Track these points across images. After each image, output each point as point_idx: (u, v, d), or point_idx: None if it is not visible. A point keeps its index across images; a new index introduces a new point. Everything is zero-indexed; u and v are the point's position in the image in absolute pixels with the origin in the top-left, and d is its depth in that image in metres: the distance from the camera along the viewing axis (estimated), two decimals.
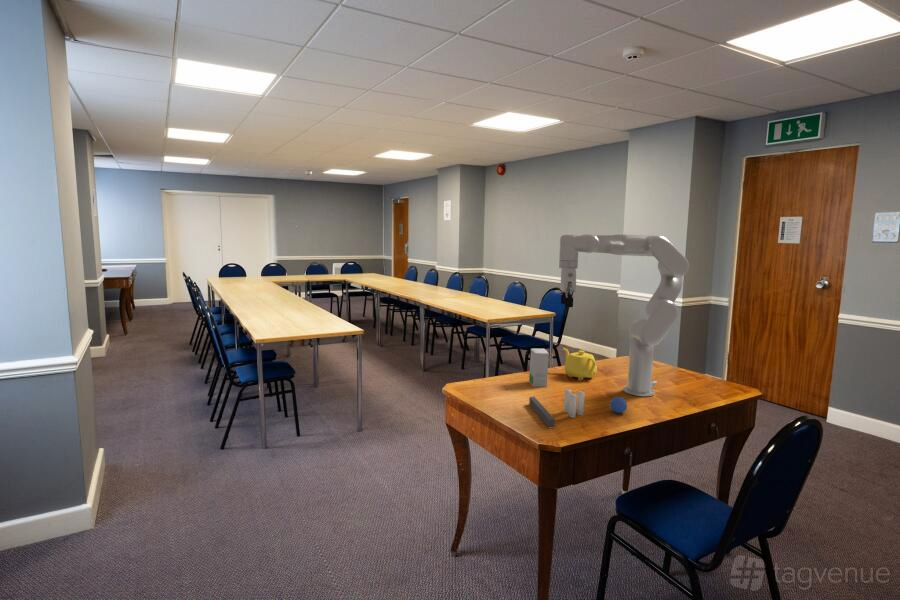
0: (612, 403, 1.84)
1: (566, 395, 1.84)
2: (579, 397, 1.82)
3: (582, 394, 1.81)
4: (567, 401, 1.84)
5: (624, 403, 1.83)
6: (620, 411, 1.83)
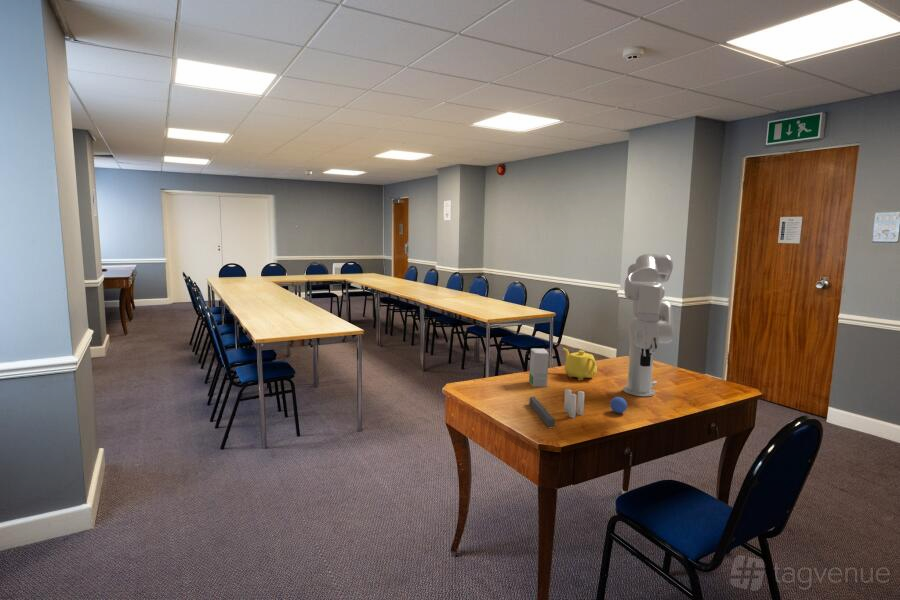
0: (612, 403, 1.84)
1: (566, 395, 1.84)
2: (579, 397, 1.82)
3: (582, 394, 1.81)
4: (567, 401, 1.84)
5: (624, 403, 1.83)
6: (620, 411, 1.83)
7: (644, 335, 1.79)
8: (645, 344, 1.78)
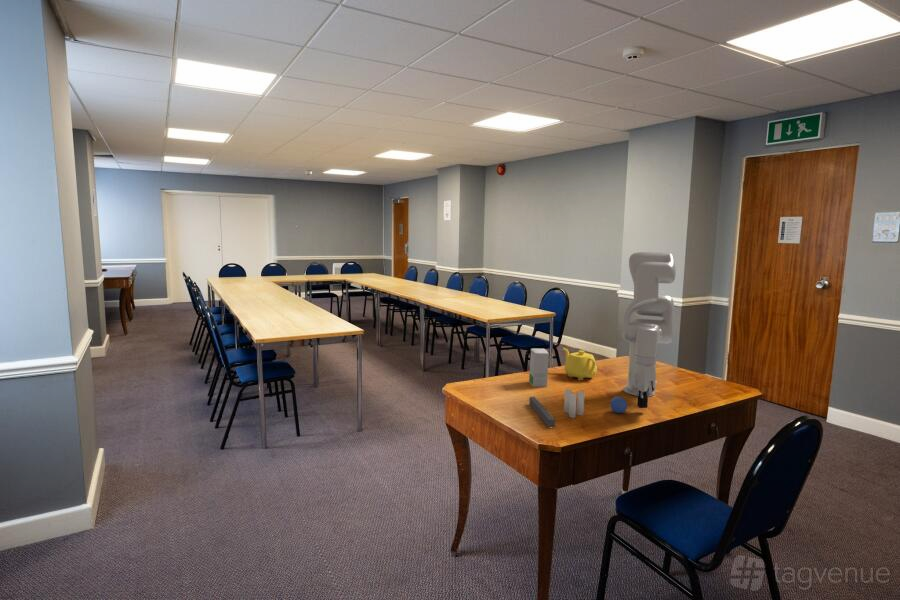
0: (612, 403, 1.84)
1: (566, 395, 1.84)
2: (579, 397, 1.82)
3: (582, 394, 1.81)
4: (567, 401, 1.84)
5: (624, 403, 1.83)
6: (620, 411, 1.83)
7: (641, 378, 1.81)
8: (642, 387, 1.80)
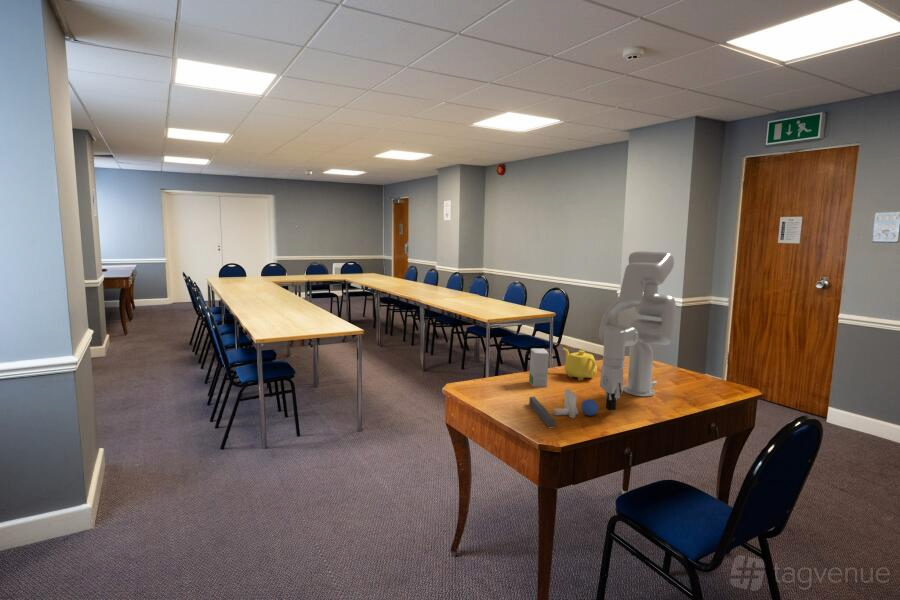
0: None
1: (566, 395, 1.84)
2: (560, 414, 1.82)
3: (557, 413, 1.81)
4: (567, 401, 1.84)
5: (591, 414, 1.81)
6: (592, 407, 1.79)
7: (609, 380, 1.80)
8: (610, 389, 1.79)
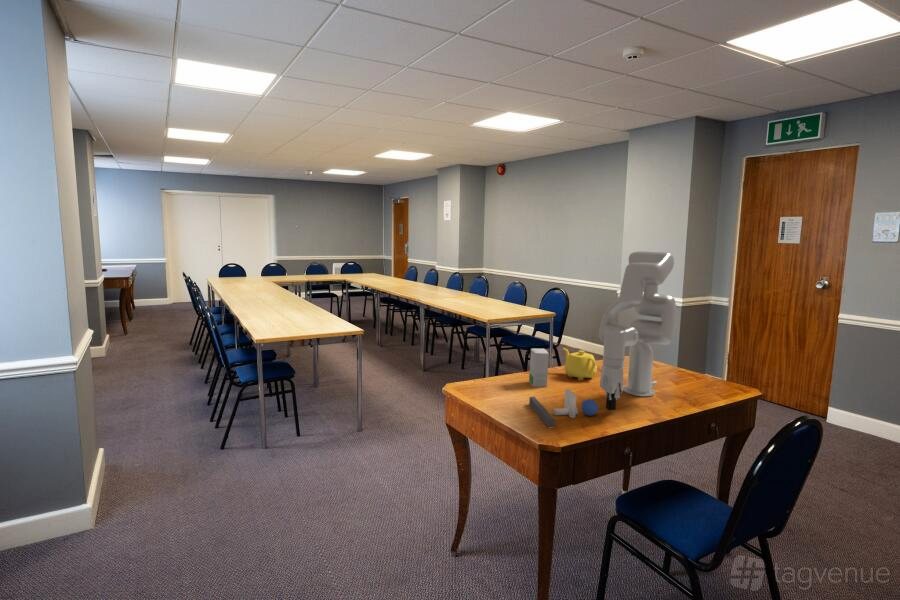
0: None
1: (566, 395, 1.84)
2: (560, 414, 1.82)
3: (557, 412, 1.81)
4: (567, 401, 1.84)
5: (591, 414, 1.81)
6: (592, 407, 1.79)
7: (609, 380, 1.80)
8: (610, 389, 1.79)
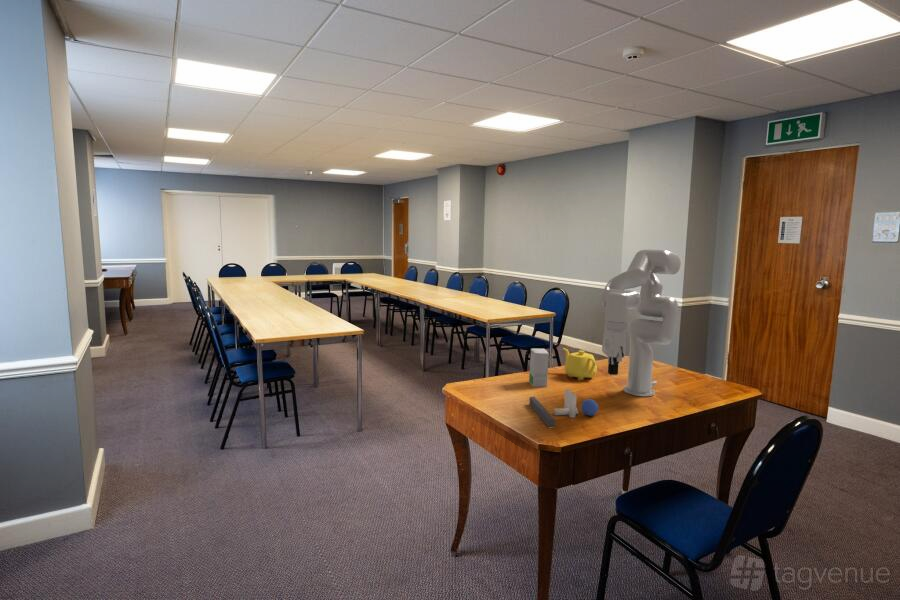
0: None
1: (566, 395, 1.84)
2: (560, 414, 1.82)
3: (557, 412, 1.81)
4: (567, 401, 1.84)
5: (591, 414, 1.81)
6: (592, 407, 1.79)
7: (611, 343, 1.78)
8: (612, 353, 1.77)
